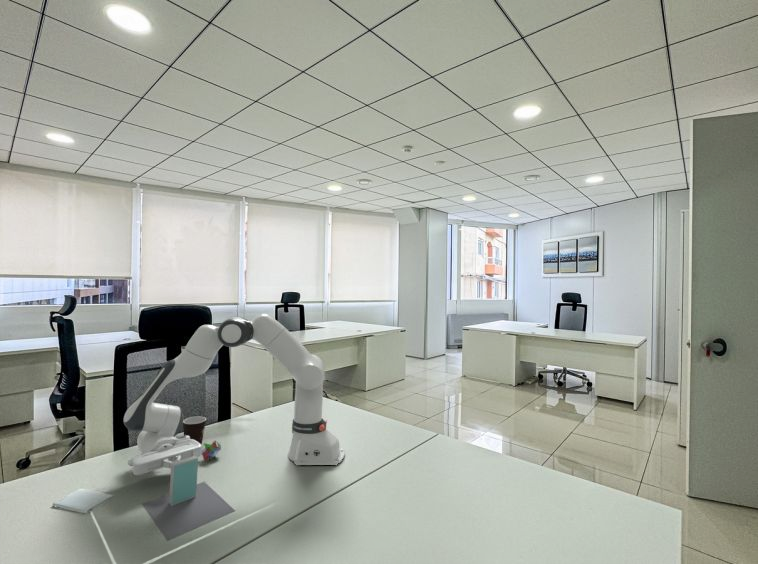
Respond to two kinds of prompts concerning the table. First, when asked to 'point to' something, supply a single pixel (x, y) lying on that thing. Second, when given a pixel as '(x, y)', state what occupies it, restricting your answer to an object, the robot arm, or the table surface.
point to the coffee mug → (194, 428)
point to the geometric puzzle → (210, 450)
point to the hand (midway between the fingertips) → (176, 465)
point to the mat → (187, 511)
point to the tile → (183, 480)
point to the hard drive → (81, 500)
